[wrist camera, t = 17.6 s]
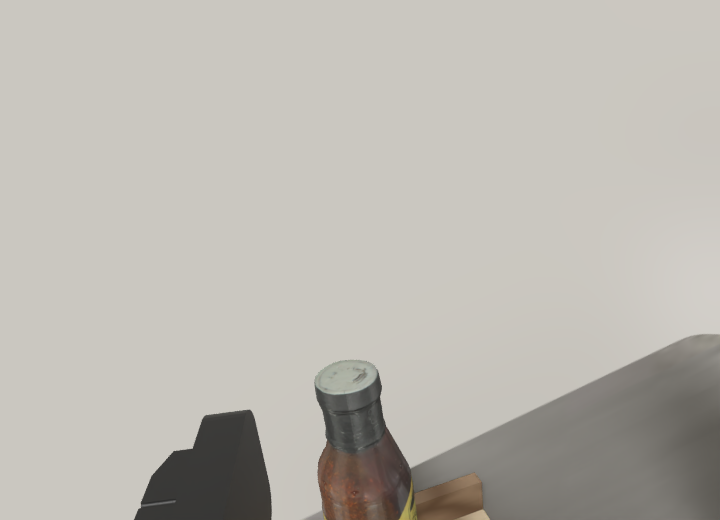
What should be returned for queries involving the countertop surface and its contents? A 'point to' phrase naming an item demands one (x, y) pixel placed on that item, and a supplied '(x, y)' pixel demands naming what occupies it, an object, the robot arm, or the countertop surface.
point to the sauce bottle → (360, 449)
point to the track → (452, 500)
